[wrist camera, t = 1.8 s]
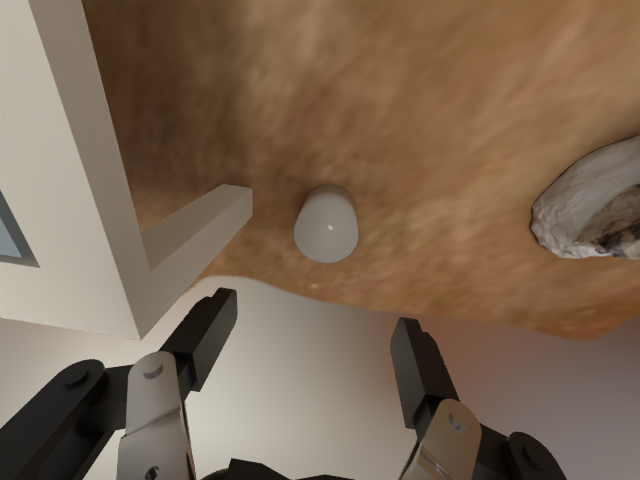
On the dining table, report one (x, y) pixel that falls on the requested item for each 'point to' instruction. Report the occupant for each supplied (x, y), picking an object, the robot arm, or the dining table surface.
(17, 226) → the trapdoor
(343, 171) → the dining table surface
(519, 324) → the dining table surface
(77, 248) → the stand
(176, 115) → the dining table surface
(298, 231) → the white rounded cylinder
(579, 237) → the stone
